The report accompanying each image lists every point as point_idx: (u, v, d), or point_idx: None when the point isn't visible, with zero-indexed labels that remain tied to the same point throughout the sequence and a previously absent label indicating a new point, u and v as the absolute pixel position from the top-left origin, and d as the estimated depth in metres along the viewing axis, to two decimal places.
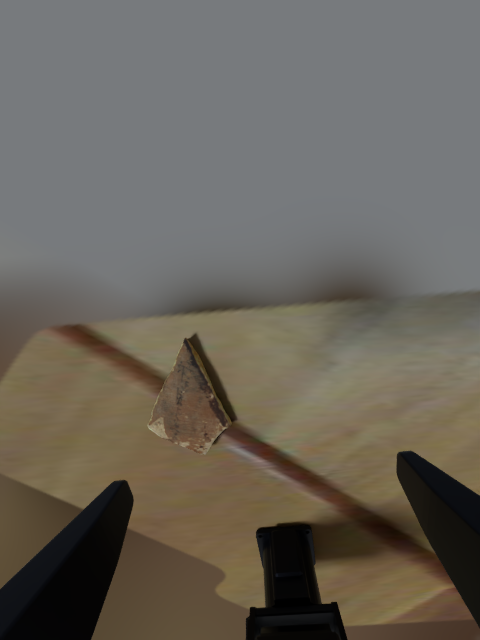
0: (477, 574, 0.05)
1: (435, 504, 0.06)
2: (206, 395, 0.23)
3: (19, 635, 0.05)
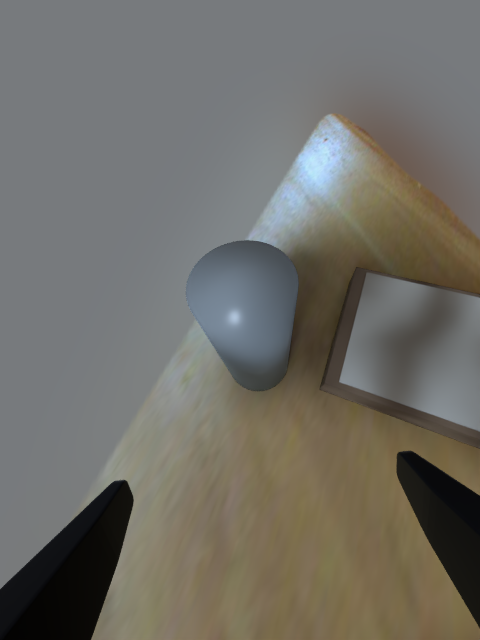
0: (477, 574, 0.05)
1: (435, 504, 0.06)
2: None
3: (19, 635, 0.05)
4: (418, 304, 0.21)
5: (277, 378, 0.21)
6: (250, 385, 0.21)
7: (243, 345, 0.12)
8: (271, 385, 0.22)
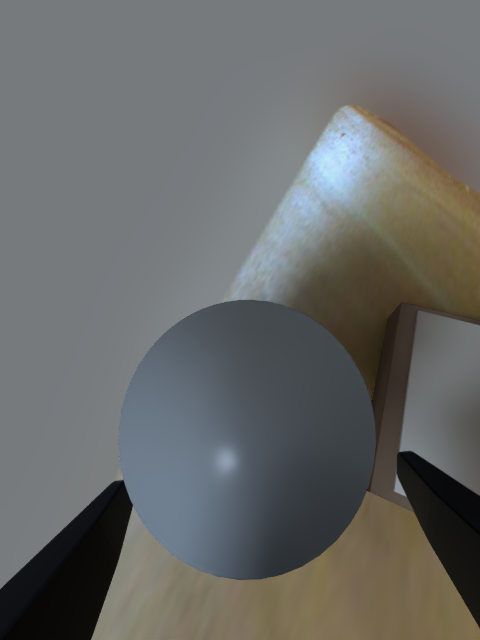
0: (477, 574, 0.05)
1: (435, 504, 0.06)
2: None
3: (19, 635, 0.05)
4: None
5: None
6: None
7: None
8: None
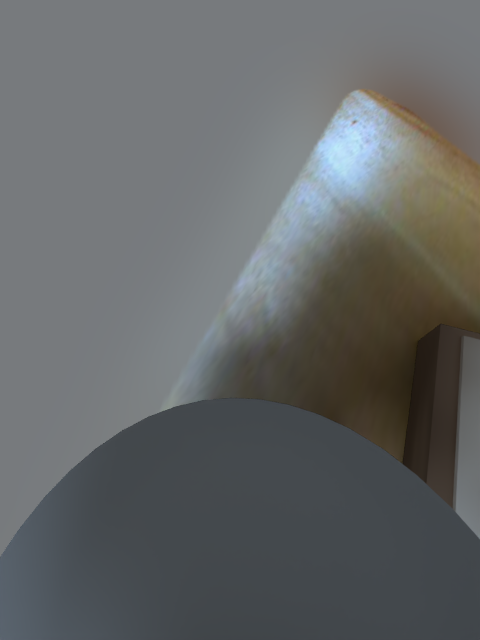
0: None
1: None
2: None
3: None
4: None
5: None
6: None
7: None
8: None
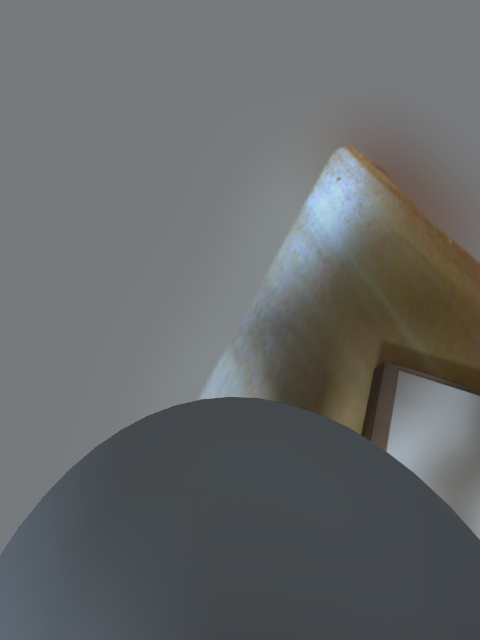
0: None
1: None
2: None
3: None
4: (468, 422, 0.17)
5: None
6: None
7: None
8: None
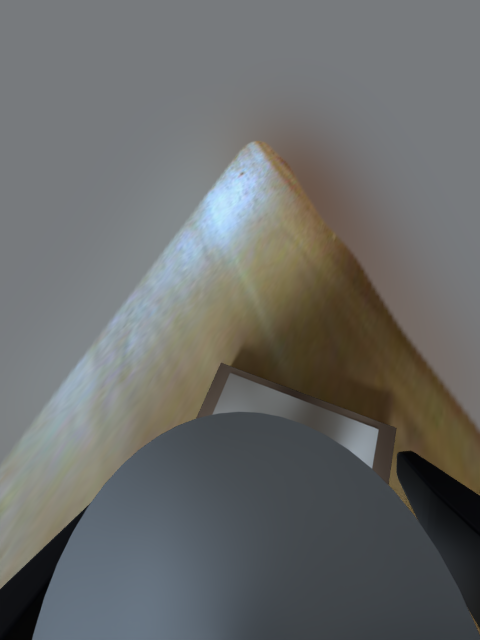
0: (477, 574, 0.05)
1: (435, 504, 0.06)
2: None
3: (19, 635, 0.05)
4: None
5: None
6: None
7: None
8: None
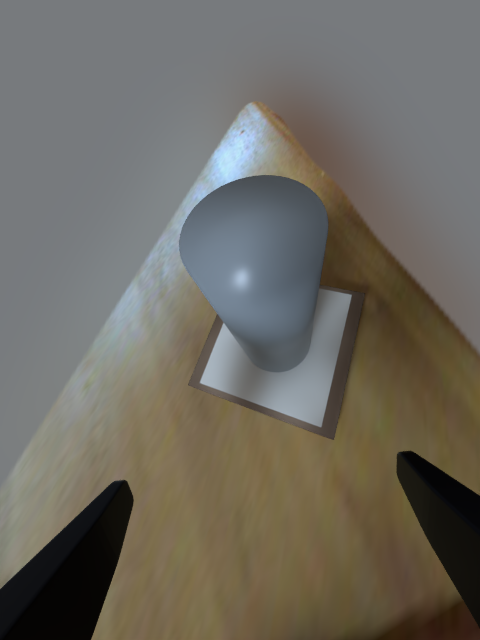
0: (477, 574, 0.05)
1: (435, 504, 0.06)
2: None
3: (19, 635, 0.05)
4: None
5: (300, 355, 0.18)
6: (269, 366, 0.18)
7: (258, 310, 0.09)
8: (293, 364, 0.19)
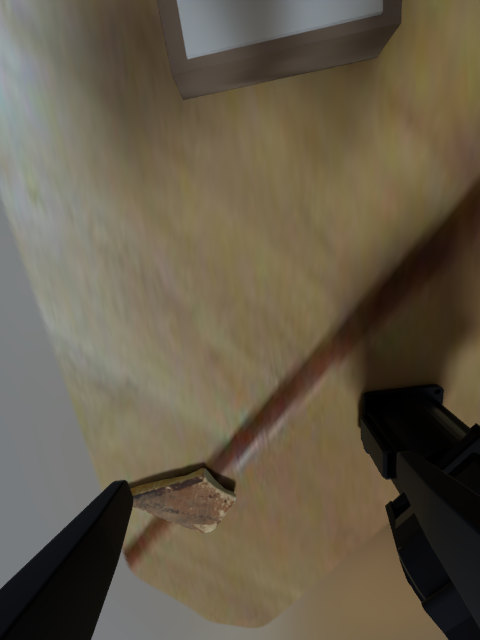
0: (477, 574, 0.05)
1: (435, 504, 0.06)
2: (167, 492, 0.25)
3: (19, 635, 0.05)
4: None
5: None
6: None
7: None
8: None
